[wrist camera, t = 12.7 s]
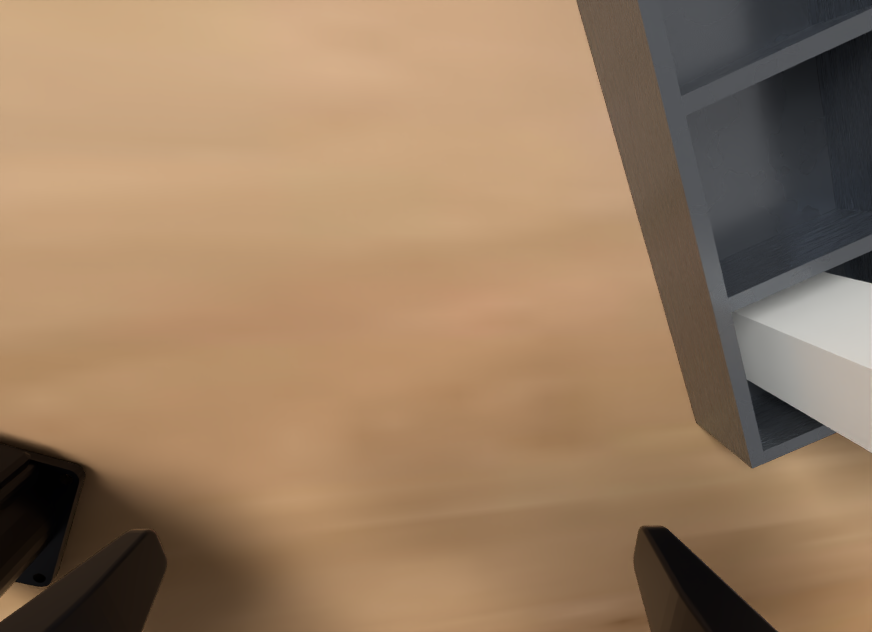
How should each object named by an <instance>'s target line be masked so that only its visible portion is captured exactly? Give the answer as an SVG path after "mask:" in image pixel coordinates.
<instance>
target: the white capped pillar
mask: <svg viewBox="0 0 872 632" xmlns="http://www.w3.org/2000/svg"><path fill="white" fill-rule="evenodd" d="M731 314H732V318H733V322H734V327H735V331H736V335H737V340H738V344H739V348H740V353H741V357H742V361H743V366H744V370H745V374H746V379H747V380H749V381H750V382H752V383H754V384H755V385H757V386H759V387H761V388H762V389H764V390H766V391H767V392H769V393H771V394H772V395H774V396H776V397H778V398H779V399H781V400H783V401H784V402H786V403H788V404H789V405H791V406H793V407H795V408H796V409H798V410H800V411H801V412H803V413H805V414H806V415H808V416H810V417H812V418H813V419H815V420H817V421H818V422H820V423H822V424H823V425H825V426H827V427H829V428H830V429H832V430H834V431H835V432H837V433H839V434H840V435H842V436H844V437H846V438H847V439H849V440H851V441H852V442H854V443H856V444H857V445H859V446H861V447H863V448H864V449H866V450H868V451H869V452H871V453H872V283H868V282H864V281H859V280H855V279H851V278H847V277H843V276H838V275H834V274H830V273H826V272H822V273H820V274H818V275H815V276H813V277H811V278H809V279H806V280H804V281H802V282H800V283H797V284H795V285H793V286H791V287H788V288H786V289H784V290H781V291H779V292H777V293H775V294H772V295H770V296H768V297H766V298H763V299H761V300H759V301H757V302H754V303H752V304H750V305H747V306H745V307H743V308H741V309H738V310H736V311H734V312H732V313H731Z"/></svg>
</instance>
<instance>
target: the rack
mask: <svg viewBox="0 0 872 632" xmlns="http://www.w3.org/2000/svg"><path fill="white" fill-rule="evenodd" d="M577 3H578V7H579V10H580V14H581V18H582V21H583V25H584V28H585V32H586V35H587V39H588V42H589V46H590V49H591V53H592V56H593V60H594V63H595V67H596V70H597V74H598V77H599V81H600V85H601V88H602V92H603V95H604V99H605V102H606V106H607V109H608V113H609V116H610V120H611V123H612V127H613V130H614V134H615V137H616V141H617V144H618V148H619V152H620V155H621V159H622V162H623V166H624V169H625V173H626V176H627V180H628V183H629V187H630V190H631V194H632V197H633V201H634V204H635V208H636V212H637V215H638V219H639V222H640V226H641V229H642V233H643V236H644V240H645V243H646V247H647V250H648V254H649V257H650V261H651V264H652V268H653V271H654V275H655V279H656V282H657V286H658V289H659V293H660V296H661V300H662V303H663V307H664V310H665V314H666V317H667V321H668V324H669V328H670V331H671V335H672V338H673V342H674V346H675V349H676V353H677V356H678V360H679V363H680V367H681V370H682V374H683V377H684V381H685V384H686V388H687V391H688V395H689V398H690V402H691V406H692V409H693V413H694V416H695V420H696V423H697V424H699V425H700V426H701V427H702V428H704V429H705V430H706V431H707V432H708V433H710V434H711V435H712V436H713V437H714V438H716V439H717V440H718V441H719V442H721V443H722V444H723V445H724V446H725V447H727V448H728V449H729V450H730V451H731V452H733V453H734V454H735V455H736V456H738V457H739V458H740V459H741V460H742V461H744V462H745V463H746V464H747V465H748V466H750V467H751V468H755V467H757V466H759V465H762V464H764V463H766V462H769V461H771V460H773V459H776V458H778V457H780V456H783V455H785V454H787V453H790V452H792V451H794V450H797V449H799V448H801V447H804V446H806V445H808V444H811V443H813V442H815V441H818V440H820V439H822V438H825V437H827V436H829V435H832V434H834V433H836V432H835V431H834V430H832V429H830V428H829V427H827V426H825V425H823V424H822V423H820V422H818V421H817V420H815V419H813V418H812V417H810V416H808V415H806V414H805V413H803V412H801V411H800V410H798V409H796V408H795V407H793V406H791V405H789V404H788V403H786V402H784V401H783V400H781V399H779V398H778V397H776V396H774V395H772V394H771V393H769V392H767V391H766V390H764V389H762V388H761V387H759V386H757V385H755V384H754V383H752V382H750V381H749V380H747V379H746V374H745V370H744V366H743V361H742V357H741V353H740V348H739V344H738V340H737V335H736V331H735V327H734V322H733V318H732V314H731V313H732V312H734V311H736V310H738V309H741V308H743V307H745V306H747V305H750V304H752V303H754V302H757V301H759V300H761V299H763V298H766V297H768V296H770V295H772V294H775V293H777V292H779V291H781V290H784V289H786V288H788V287H791V286H793V285H795V284H797V283H800V282H802V281H804V280H806V279H809V278H811V277H813V276H815V275H818V274H820V273H822V272H826V273H830V274H834V275H838V276H843V277H847V278H851V279H855V280H859V281H864V282H868V283H872V0H577Z"/></svg>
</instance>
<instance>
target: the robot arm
mask: <svg viewBox="0 0 872 632" xmlns="http://www.w3.org/2000/svg"><path fill="white" fill-rule="evenodd" d="M66 474H68V475H70V476H71V477H72V478H69V477H68V476H67V475H66ZM84 479H85V472H84V470H83V469H82V468H81V467H80V466H78V465H76V464H73V463H70V462H66V461H62V460H59V459H55V458H51V457H48V456H44V455H41V454H37V453H33V452H30V451H26V450H22V449H19V448H15V447H12V446H8V445H4V444H1V443H0V598H1V596H2V595H3V594H4V593H5V592H6V591H7V590H8V589H9V588H10V586H11V585H12V584H13V583H14V582H19V583H24V584H28V585H33V586H38V587H43V586H47V585H49V584H50V583H51V582H52V580H53V579H54V578H55V577H56V575H57V573H58V570H59V567H60V563H61V560H62V556H63V553H64V549H65V546H66V542H67V538H68V535H69V531H70V528H71V524H72V521H73V517H74V514H75V510H76V507H77V503H78V500H79V496H80V493H81V489H82V486H83V482H84ZM166 567H167V558H166V555H165V552H164V550H163V548H162V545H161V543H160V540H159V538H158V536H157V534H156V532H155V531H154V530H152V529H132V530H129V531H127V532H125V533H124V534H122V535H121V536H120V537H118V538H117V539H116V540H114V541H113V542H111V543H110V544H109V545H107V546H106V547H104V548H103V549H102V550H100V551H99V552H97V553H96V554H95V555H93V556H92V557H90V558H89V559H88V560H86V561H85V562H83V563H82V564H81V565H79V566H78V567H76V568H75V569H74V570H72V571H71V572H70V573H68V574H67V575H65V576H64V577H63V578H61V579H60V580H58V581H57V582H56V583H54V584H53V585H51V586H50V587H49V588H47V589H46V590H44V591H43V592H42V593H40V594H39V595H37V596H36V597H35V598H33V599H32V600H30V601H29V602H28V603H26V604H25V605H24V606H22V607H21V608H19V609H18V610H17V611H15V612H14V613H12V614H11V615H10V616H8V617H7V618H5V619H4V620H3V621H1V622H0V632H142V630H143V627H144V625H145V622H146V620H147V617H148V615H149V612H150V610H151V607H152V605H153V602H154V599H155V597H156V594H157V592H158V589H159V587H160V584H161V582H162V579H163V577H164V574H165V571H166ZM634 569H635V573H636V577H637V581H638V585H639V589H640V592H641V596H642V600H643V604H644V607H645V611H646V615H647V619H648V622H649V626H650V630H651V632H778V631H777V630H776V629H775V628H774V627H772V626H771V625H770V624H769V623H768V622H767V621H766V620H765V619H764V618H763V617H762V616H761V615H760V614H758V613H757V612H756V611H755V610H754V609H753V608H752V607H751V606H750V605H749V604H748V603H747V602H746V601H745V600H743V599H742V598H741V597H740V596H739V595H738V594H737V593H736V592H735V591H734V590H733V589H732V588H731V587H729V586H728V585H727V584H726V583H725V582H724V581H723V580H722V579H721V578H720V577H719V576H718V575H717V574H716V573H714V572H713V571H712V570H711V569H710V568H709V567H708V566H707V565H706V564H705V563H704V562H703V561H702V560H700V559H699V558H698V557H697V556H696V555H695V554H694V553H693V552H692V551H691V550H690V549H689V548H688V547H687V546H685V545H684V544H683V543H682V542H681V541H680V540H679V539H678V538H677V537H676V536H675V535H674V534H673V533H672V532H670V531H669V530H668V529H667V528H665V527H663V526H642V527H640V529H639V531H638V536H637V541H636V546H635V552H634Z"/></svg>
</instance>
